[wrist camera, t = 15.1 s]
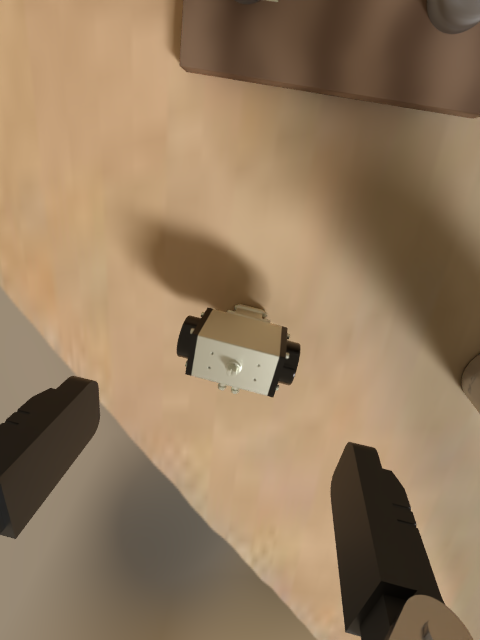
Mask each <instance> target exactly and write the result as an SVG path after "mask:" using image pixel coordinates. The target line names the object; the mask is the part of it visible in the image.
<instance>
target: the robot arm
mask: <svg viewBox="0 0 480 640" xmlns="http://www.w3.org/2000/svg"><path fill="white" fill-rule="evenodd" d="M461 383H462V389H463V391H464V393H465V395H466V396H467V397H468V399H469V400H470V401H471V403H472V404H473V405H474V407H475V408H476V409H477V411H478V412H479V413H480V354H479V355H478V356H476V357H475V358H474V359H473V360H472V361H471V362H470V363H469V364H468V366H467V367H466V368H465V370H464V373H463V375H462V381H461ZM99 420H100V408H99V388H98V383H97V382H96V381H93V380H89V379H84V378H80V377H76V376H71V377H69V378H68V379H67V380H66V381H65V382H63V383H62V384H61V385H60V386H59V387H58V388H57V389H52V388H50V389H48V390H46V391H43V392H42V393H39V394H37V395H35V396H33V397H32V398H30V399H29V400H28V401H27V402H26V403H25V404H24V405H22V406H21V407H20V408H19V409H18V411H17V412H15V413H13V414H12V415H11V416H10V417H9V418H8V419H6V421H5V423H2V424H1V425H0V535H3V536H7V537H11V538H14V539H16V538H17V537H18V535H19V534H20V533H21V531H22V530H23V529H24V527H25V526H26V525H27V523H28V522H29V520H30V519H31V518H32V517H33V515H34V514H35V512H36V511H37V510H38V509H39V507H40V506H41V505H42V503H43V502H44V501H45V499H46V498H47V497H48V495H49V494H50V493H51V491H52V490H53V489H54V487H55V486H56V485H57V483H58V482H59V481H60V479H61V478H62V477H63V475H64V474H65V473H66V471H67V470H68V469H69V467H70V466H71V465H72V463H73V462H74V461H75V459H76V458H77V457H78V455H79V454H80V453H81V452H82V450H83V449H84V448H85V446H86V445H87V444H88V442H89V441H90V440H91V438H92V437H93V435H94V434H95V432H96V430H97V427H98V424H99ZM331 504H332V513H333V522H334V532H335V541H336V550H337V559H338V568H339V578H340V587H341V596H342V605H343V614H344V623H345V632H346V633H350V634H354V635H357V636H361V640H473V638H472V636H471V634H470V633H469V631H468V629H467V628H466V627H465V625H464V624H463V622H462V621H461V620H460V619H459V618H458V616H457V615H456V614H455V613H454V612H453V611H452V610H451V609H449V608H448V607H447V606H446V605H445V603H444V601H443V599H442V597H441V594H440V591H439V588H438V586H437V583H436V580H435V577H434V574H433V571H432V568H431V565H430V562H429V559H428V556H427V553H426V550H425V548H424V545H423V542H422V539H421V536H420V533H419V530H418V528H416V521H415V518H414V515H413V512H411V507H410V504H409V501H408V498H407V495H406V492H405V489H404V487H403V486H402V485H401V483H400V482H399V480H398V479H397V478H396V476H395V475H394V473H393V472H392V471H390V470H386V469H382V466H381V463H380V459H379V456H378V453H377V450H376V449H375V448H373V447H369V446H364V445H360V444H356V443H352V442H348V443H347V445H346V446H345V449H344V451H343V453H342V456H341V458H340V460H339V462H338V465H337V467H336V469H335V472H334V474H333V477H332V481H331Z"/></svg>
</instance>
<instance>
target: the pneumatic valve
mask: <svg viewBox="0 0 480 640" xmlns="http://www.w3.org/2000/svg"><path fill="white" fill-rule="evenodd" d="M235 310H236V312H235V311H231V310H227V312H223V311H219V310H216V309H212V308H207V310H206V311H205V312H202V313H201V317H202V318H198V317H194V316H190V315H189V316H188V317H187V318H186V319H185V321H184V323H183V326H182V328H181V331H180V335H179V338H178V343H177V355H178V356H179V357H183V358H187V359H188V360H187V362H186V364H185V366H186V373H185V374H187V375H191V376H194V377H198V378H202V379H206V380H209V381H213V382H217V383H219V384H218V388H219V389H220V390H225V389H226V385H228V386H232V388H231V392H232V393H234V394H237V393H238V392H239V389H243V390H247V391H251V392H255V393H258V394H262V395H266V396H270V397H274V394H275V390H277V391H278V388H279V385H277V384H278V383H282V384H286V385H291V383H292V381H293V379H294V376H295V373H296V370H297V366H298V362H299V356H300V344H299V343H295V342H291V341H288V340H287V339H289V337H290V334H288V333H287V328H286V327H283V326H279V325H275V324H271V323H270V320H267V319H263V318H262V317H265V316H267V313H266V312H264V310H262V309H258V308H254V307H250V306H246V305H242V304H238V305H235Z"/></svg>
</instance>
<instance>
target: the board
mask: <svg viewBox="0 0 480 640" xmlns="http://www.w3.org/2000/svg"><path fill="white" fill-rule="evenodd" d="M180 66H181V67H182V68H183V69H184V70H185V71H186V72H191V73H197V74H203V75H210V76H216V77H222V78H228V79H234V80H240V81H246V82H253V83H259V84H265V85H271V86H277V87H283V88H289V89H296V90H302V91H308V92H314V93H320V94H326V95H332V96H338V97H345V98H351V99H357V100H363V101H369V102H375V103H381V104H388V105H394V106H400V107H406V108H412V109H418V110H424V111H431V112H437V113H443V114H449V115H455V116H461V117H467V118H476V117H480V0H278V2H274V1H267V0H183V16H182V33H181V50H180Z"/></svg>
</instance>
